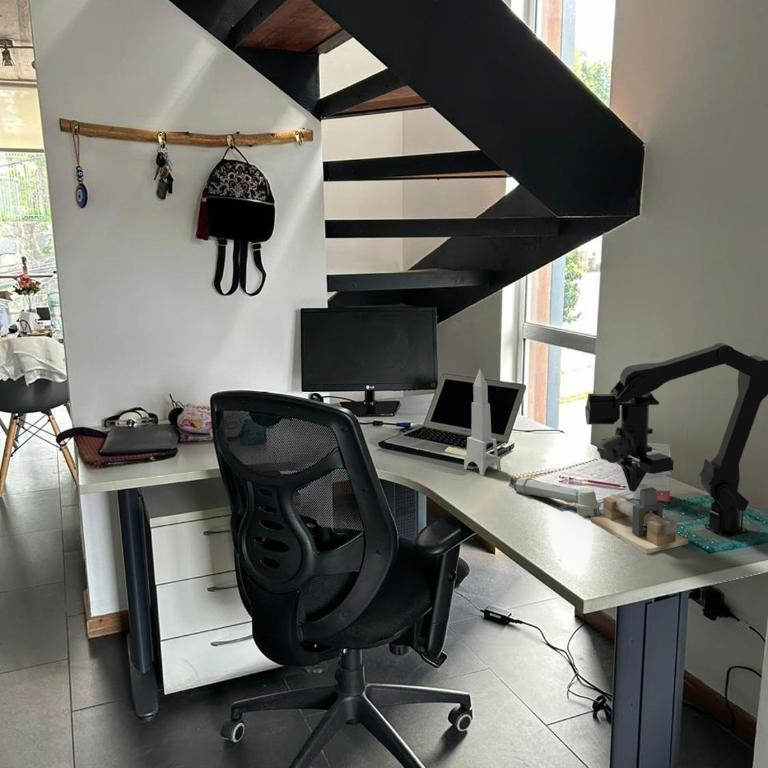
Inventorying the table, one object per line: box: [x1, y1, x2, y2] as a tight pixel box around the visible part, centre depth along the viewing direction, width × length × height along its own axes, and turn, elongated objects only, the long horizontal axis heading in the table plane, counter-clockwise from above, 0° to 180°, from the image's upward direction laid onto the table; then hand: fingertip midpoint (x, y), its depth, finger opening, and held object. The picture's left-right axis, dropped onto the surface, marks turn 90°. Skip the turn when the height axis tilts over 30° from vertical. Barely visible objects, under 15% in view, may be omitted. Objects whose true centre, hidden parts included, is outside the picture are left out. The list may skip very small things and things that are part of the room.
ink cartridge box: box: [633, 442, 671, 503], centre depth 180 cm, size 9×5×15 cm, turn 68°
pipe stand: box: [590, 493, 689, 555], centre depth 161 cm, size 11×19×6 cm, turn 20°
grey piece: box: [513, 477, 601, 518], centre depth 181 cm, size 5×7×25 cm
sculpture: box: [463, 368, 502, 477], centre depth 206 cm, size 7×8×30 cm
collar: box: [632, 487, 664, 536], centre depth 158 cm, size 6×2×10 cm, turn 110°
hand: (632, 491), depth 162 cm, fingers closed
